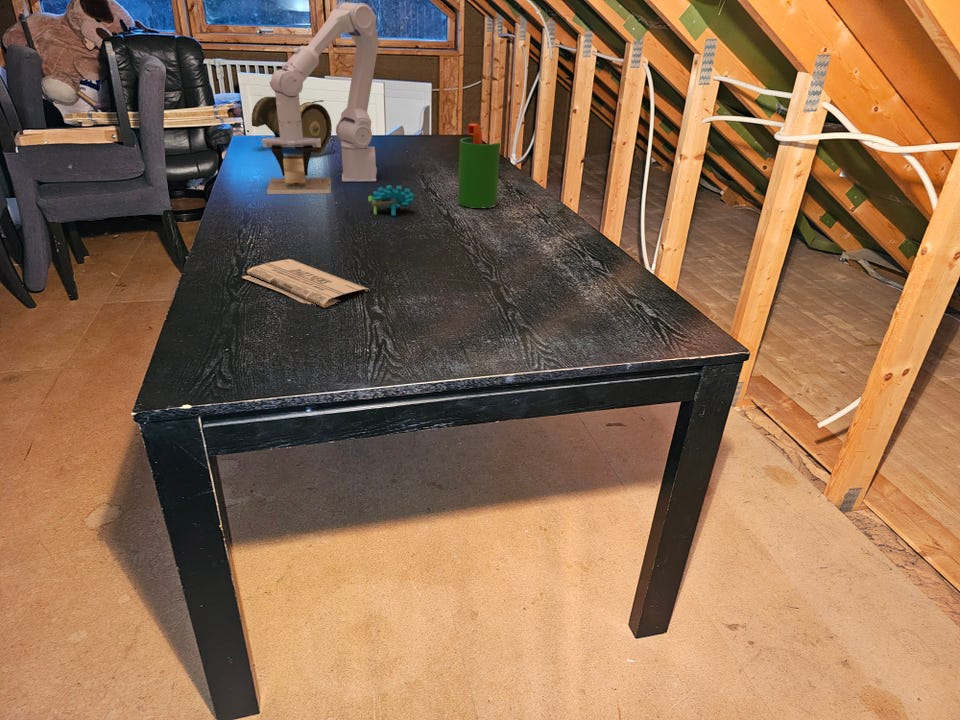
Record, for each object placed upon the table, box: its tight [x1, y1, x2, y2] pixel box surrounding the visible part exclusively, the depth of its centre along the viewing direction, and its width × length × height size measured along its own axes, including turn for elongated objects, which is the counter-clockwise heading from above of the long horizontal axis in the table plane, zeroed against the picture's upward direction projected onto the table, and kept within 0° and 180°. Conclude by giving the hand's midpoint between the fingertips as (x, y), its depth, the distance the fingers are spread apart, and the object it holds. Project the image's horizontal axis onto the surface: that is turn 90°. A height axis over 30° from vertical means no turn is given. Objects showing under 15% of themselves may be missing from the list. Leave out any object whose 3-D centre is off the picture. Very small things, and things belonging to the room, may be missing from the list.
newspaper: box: [241, 258, 370, 308], centre depth 119 cm, size 23×12×2 cm, turn 52°
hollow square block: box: [283, 154, 307, 183], centre depth 173 cm, size 5×5×6 cm
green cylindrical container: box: [457, 123, 501, 208], centre depth 163 cm, size 10×9×20 cm
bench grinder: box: [251, 96, 333, 154], centre depth 208 cm, size 20×22×20 cm
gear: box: [367, 184, 415, 217], centre depth 157 cm, size 11×6×10 cm
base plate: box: [266, 177, 332, 195], centre depth 174 cm, size 16×12×5 cm
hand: (295, 174), depth 174 cm, fingers closed on hollow square block, 5 cm apart
